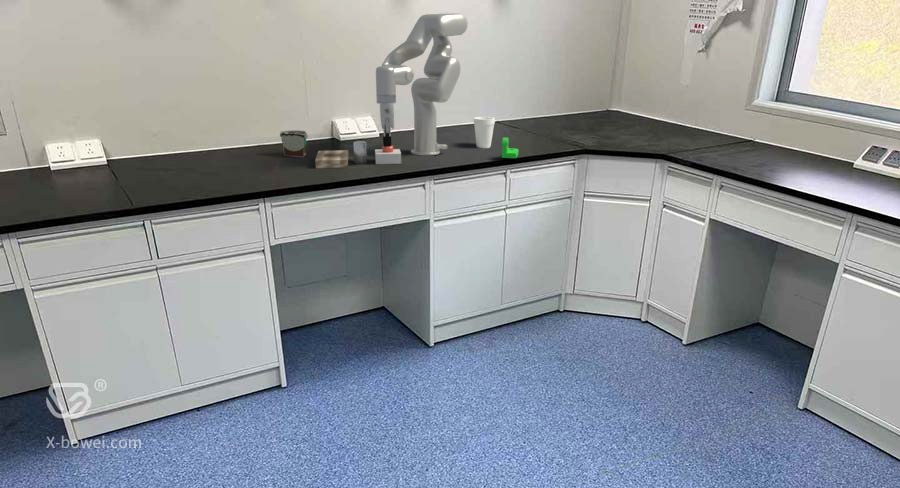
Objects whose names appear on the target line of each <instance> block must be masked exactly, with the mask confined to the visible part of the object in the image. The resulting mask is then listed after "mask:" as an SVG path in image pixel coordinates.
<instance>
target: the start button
mask: <svg viewBox="0 0 900 488" xmlns="http://www.w3.org/2000/svg"><path fill="white" fill-rule="evenodd" d="M381 147H382V148H381V149H382V151H383V152H393V149H394V145H392V144H391V146H390V147H384V146H383V145H382V146H381Z"/></svg>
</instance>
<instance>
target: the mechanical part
mask: <svg viewBox="0 0 900 488" xmlns="http://www.w3.org/2000/svg"><path fill="white" fill-rule="evenodd" d="M509 141H510V139H509V137H502V143H501V159H502V158H503V159H504V158H505V159H517V158H518V156H519V148H516V147H515V148H512V147H510V148H509V143H510V142H509Z"/></svg>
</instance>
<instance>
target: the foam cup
mask: <svg viewBox="0 0 900 488" xmlns="http://www.w3.org/2000/svg"><path fill="white" fill-rule="evenodd" d="M495 123H496V119H495V117H492V116H476V117H473V124H474V134H475V135H474V136H475V142H476V143H475V145H476V148H480V149H489V148H491V146H492V139H493V134H494V129H495V128H494V127H495Z"/></svg>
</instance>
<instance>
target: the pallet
mask: <svg viewBox="0 0 900 488" xmlns="http://www.w3.org/2000/svg"><path fill="white" fill-rule="evenodd" d="M314 163H315V168H316V169H336V168H337V169H338V168H339V169H340V168H343V169H344V168H348V165H349V150H348V149H347V150H346V149H343V150H338V149H337V150H318V152H317V154H316V157H315V161H314Z"/></svg>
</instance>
